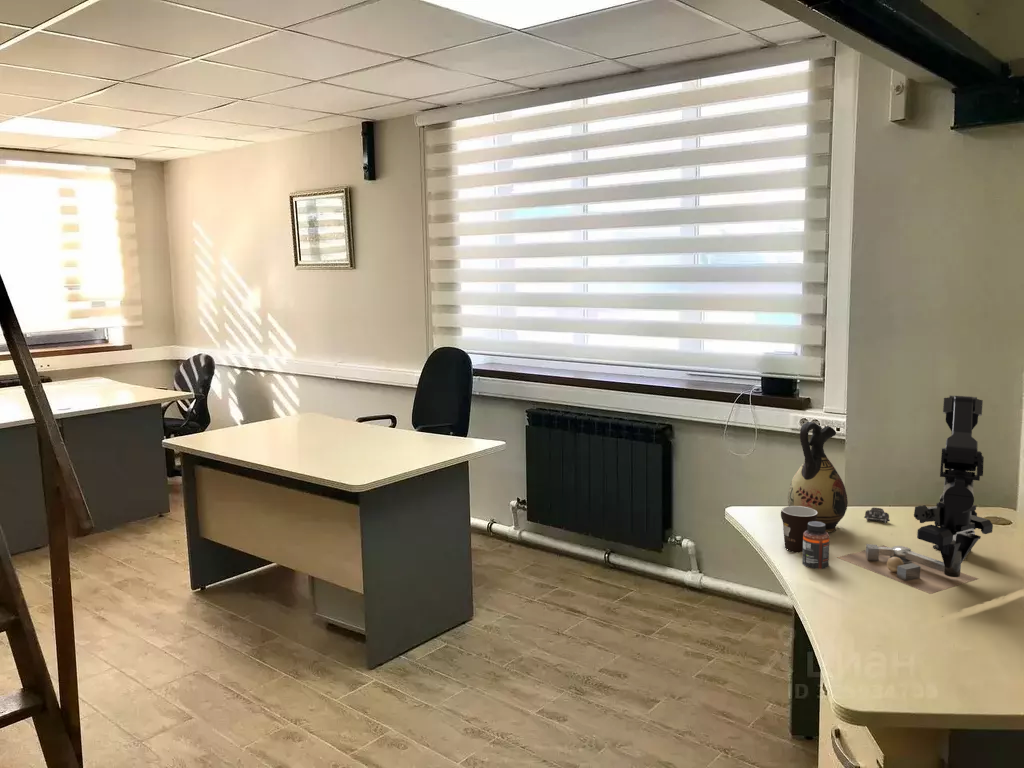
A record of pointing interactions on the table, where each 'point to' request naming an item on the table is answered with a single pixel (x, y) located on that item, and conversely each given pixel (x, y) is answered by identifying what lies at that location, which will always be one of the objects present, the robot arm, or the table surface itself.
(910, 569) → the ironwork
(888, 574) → the board
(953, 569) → the lever
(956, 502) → the robot arm
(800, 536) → the coffee mug
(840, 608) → the table surface
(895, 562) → the tan ball
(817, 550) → the supplement bottle
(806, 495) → the ceramic jug
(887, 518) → the car cutout
